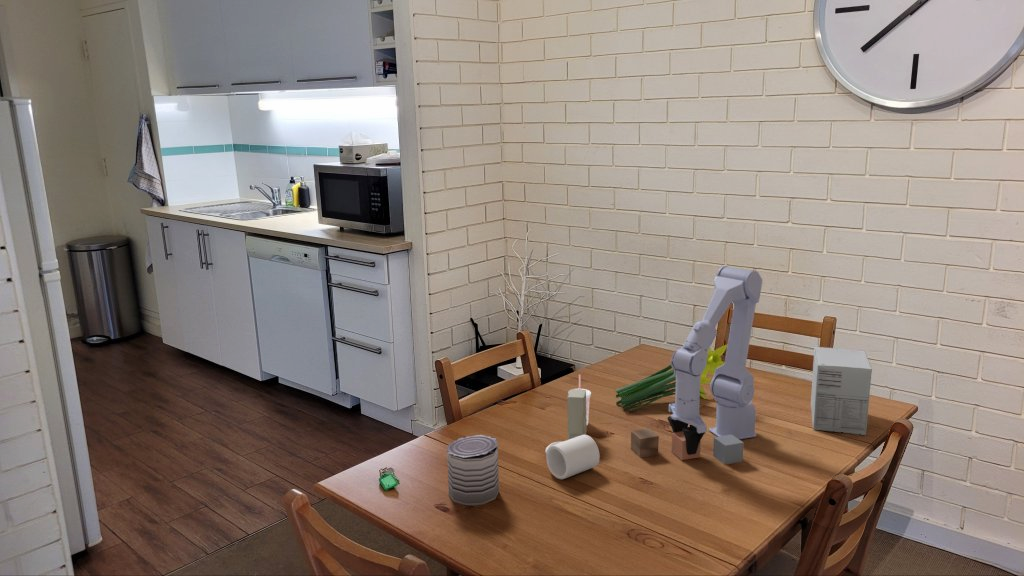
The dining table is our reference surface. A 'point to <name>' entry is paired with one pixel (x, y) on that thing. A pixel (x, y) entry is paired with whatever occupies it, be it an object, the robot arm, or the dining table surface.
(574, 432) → the skincare box
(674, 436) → the terracotta block
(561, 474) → the mug
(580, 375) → the beverage cup
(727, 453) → the slate grey block
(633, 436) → the walnut block
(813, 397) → the supplement box
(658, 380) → the daffodil flowers
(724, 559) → the dining table surface
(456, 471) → the can
